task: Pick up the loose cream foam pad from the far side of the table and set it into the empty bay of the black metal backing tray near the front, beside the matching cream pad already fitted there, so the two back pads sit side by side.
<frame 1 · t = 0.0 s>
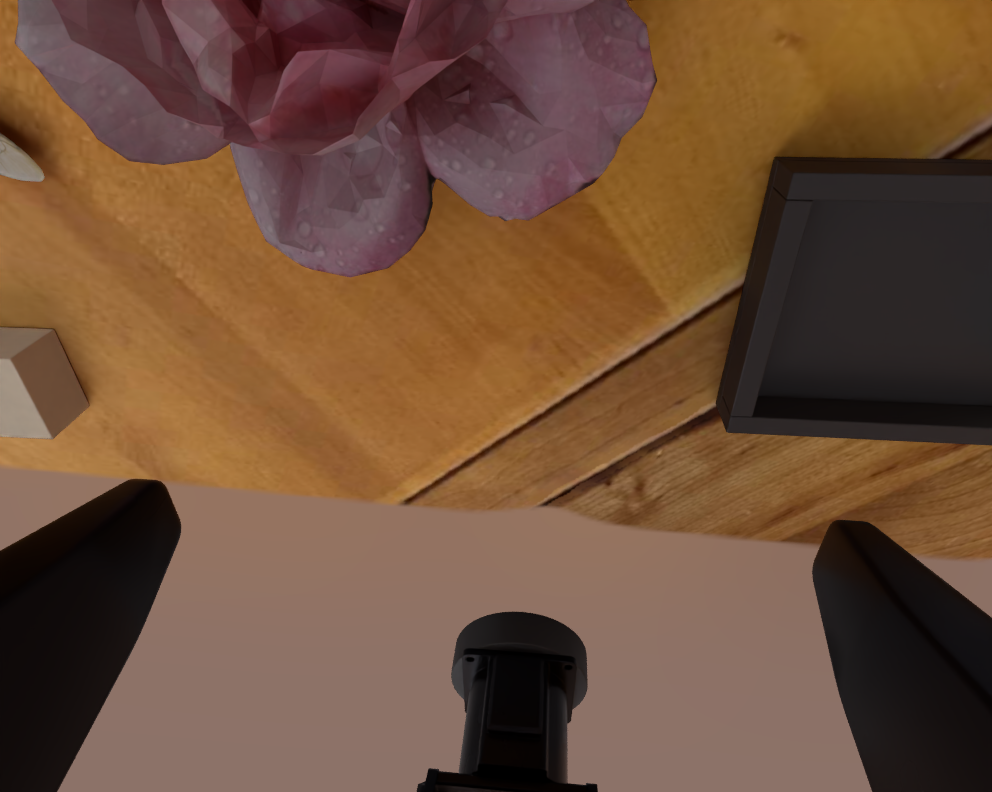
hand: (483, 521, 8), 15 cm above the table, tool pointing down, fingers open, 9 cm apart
backing tray: (952, 301, 22), on the table
loose pad: (30, 367, 27), on the table
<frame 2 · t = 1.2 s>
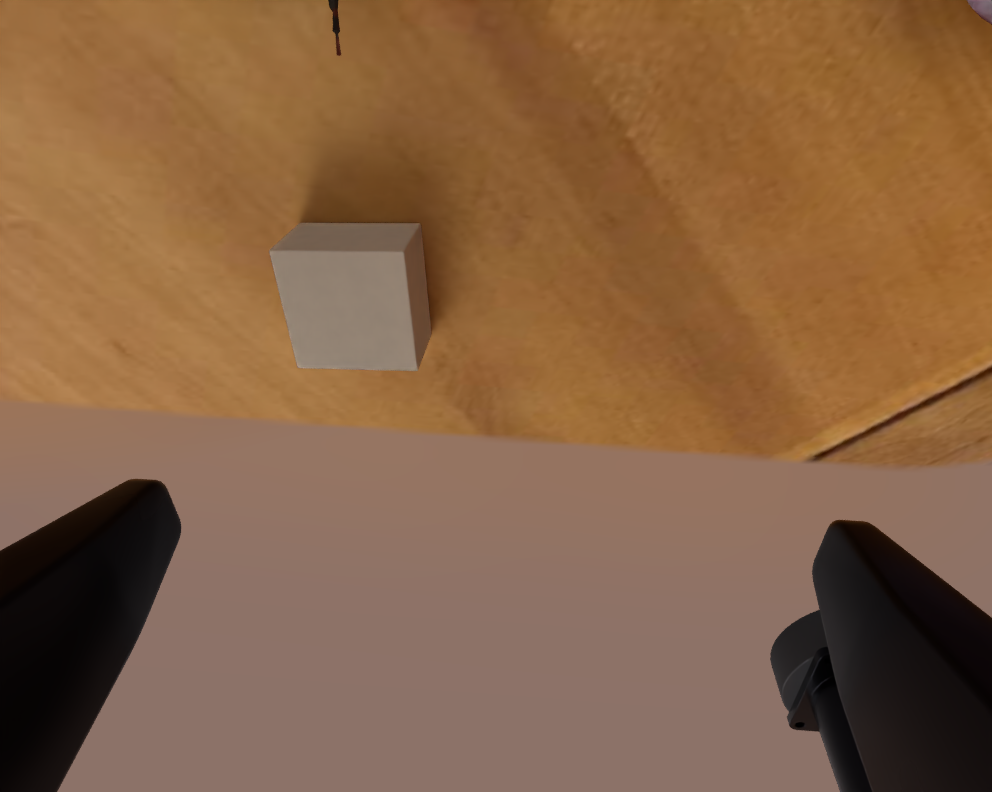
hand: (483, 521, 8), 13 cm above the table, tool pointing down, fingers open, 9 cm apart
loose pad: (368, 281, 21), on the table
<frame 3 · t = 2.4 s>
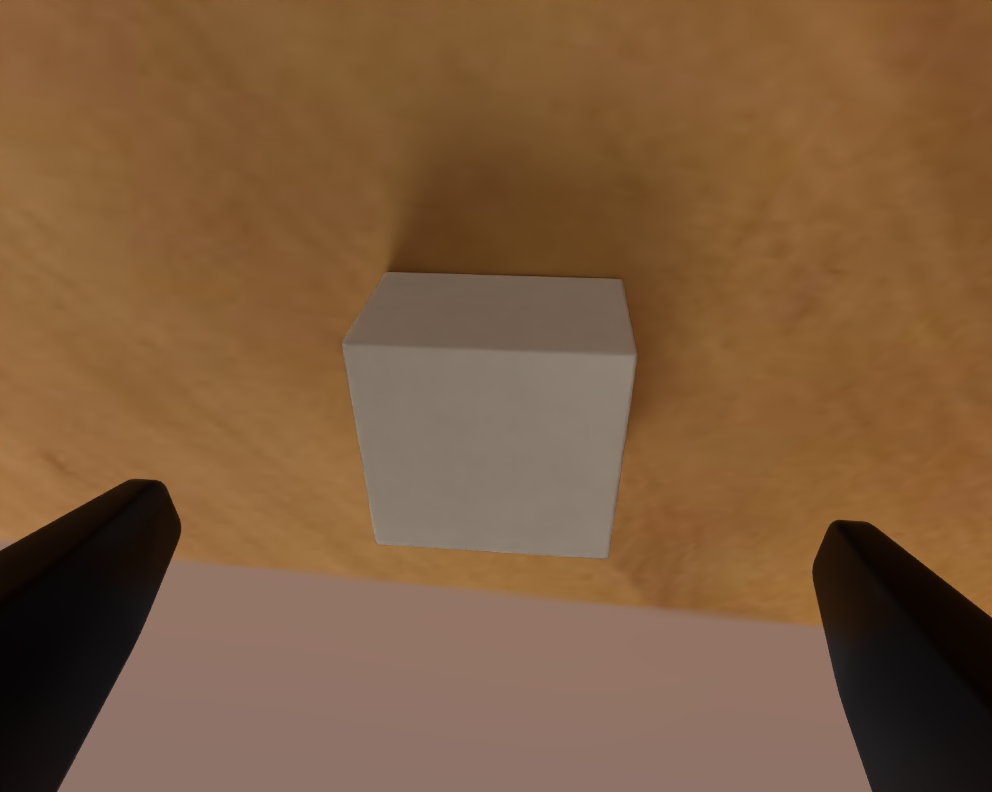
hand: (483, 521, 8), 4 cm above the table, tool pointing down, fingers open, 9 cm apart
loose pad: (501, 375, 11), on the table
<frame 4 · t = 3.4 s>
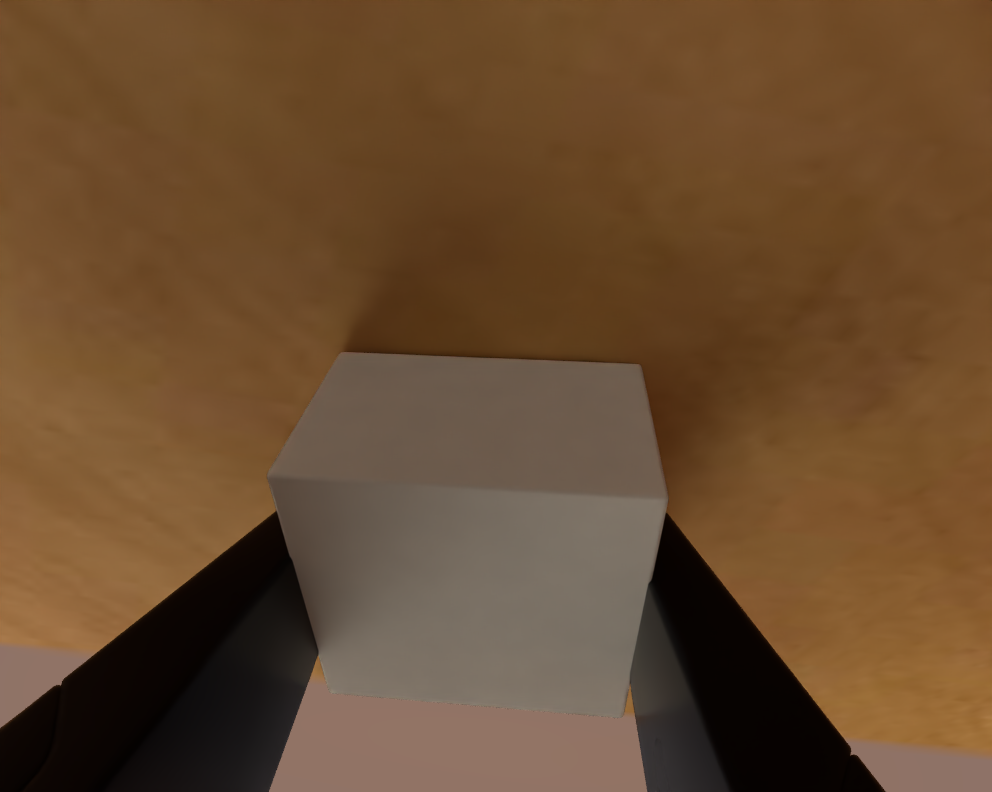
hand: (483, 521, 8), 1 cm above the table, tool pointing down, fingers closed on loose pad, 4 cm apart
loose pad: (489, 471, 9), on the table, touching gripper
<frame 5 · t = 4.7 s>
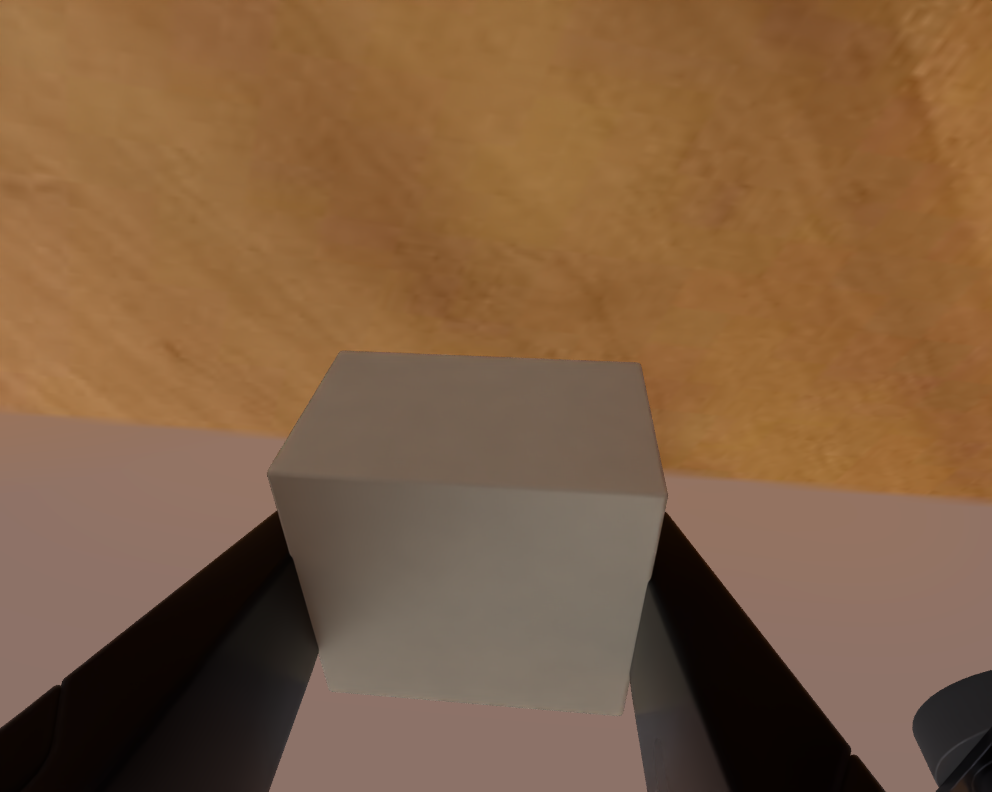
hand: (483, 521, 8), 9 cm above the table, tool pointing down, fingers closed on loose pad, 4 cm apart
loose pad: (489, 470, 9), point 8 cm above the table, touching gripper
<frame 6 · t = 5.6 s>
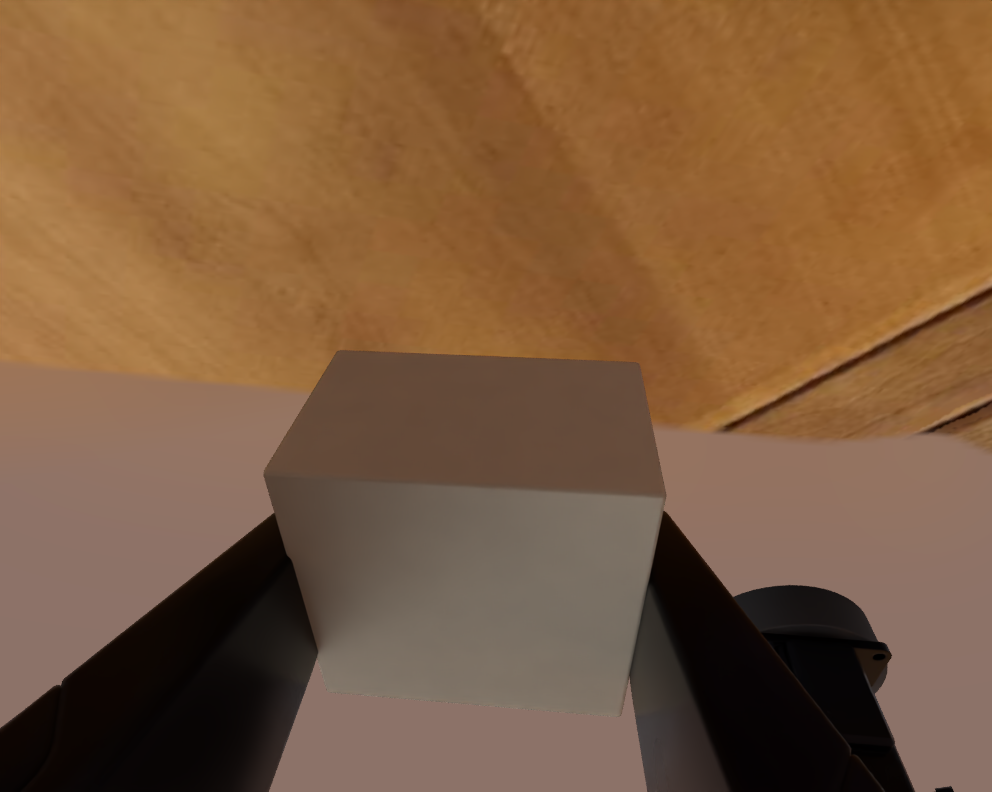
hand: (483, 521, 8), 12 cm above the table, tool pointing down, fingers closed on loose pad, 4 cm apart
loose pad: (487, 470, 9), point 11 cm above the table, touching gripper
when the fingers open (1 cm above the table, at t = 10.4 s): loose pad stays where it is, resting on backing tray.
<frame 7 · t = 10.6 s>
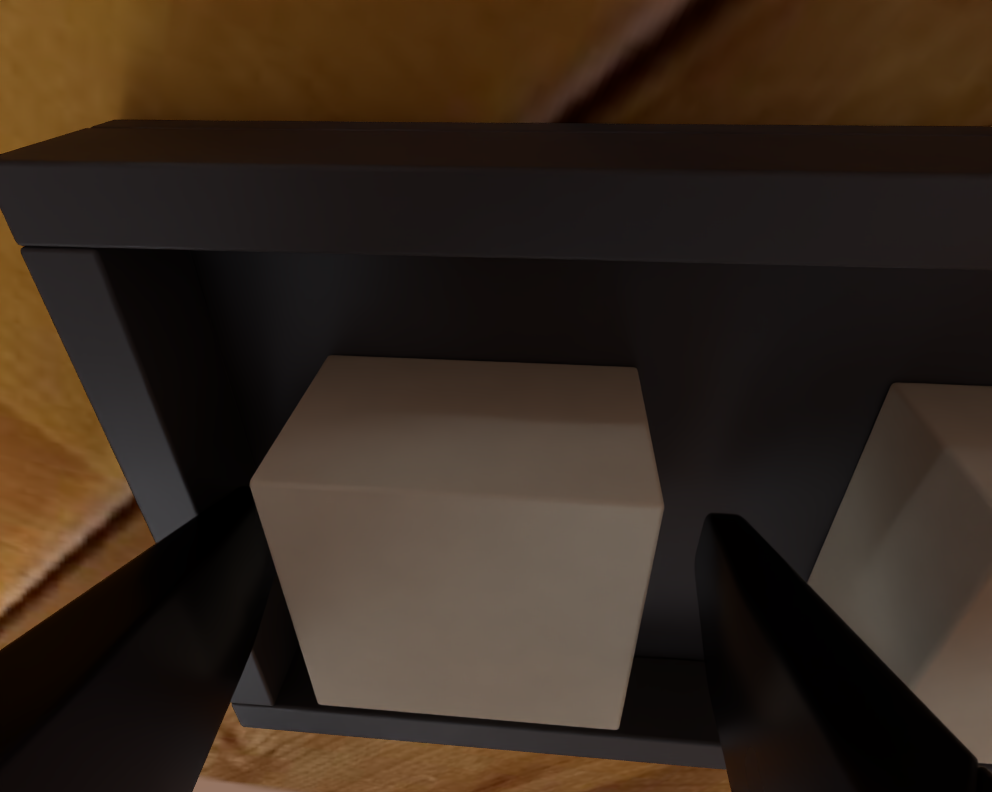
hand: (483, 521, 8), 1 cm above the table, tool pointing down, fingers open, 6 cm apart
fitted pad: (990, 507, 8), resting on backing tray
backing tray: (688, 468, 9), on the table
loose pad: (482, 476, 9), resting on backing tray
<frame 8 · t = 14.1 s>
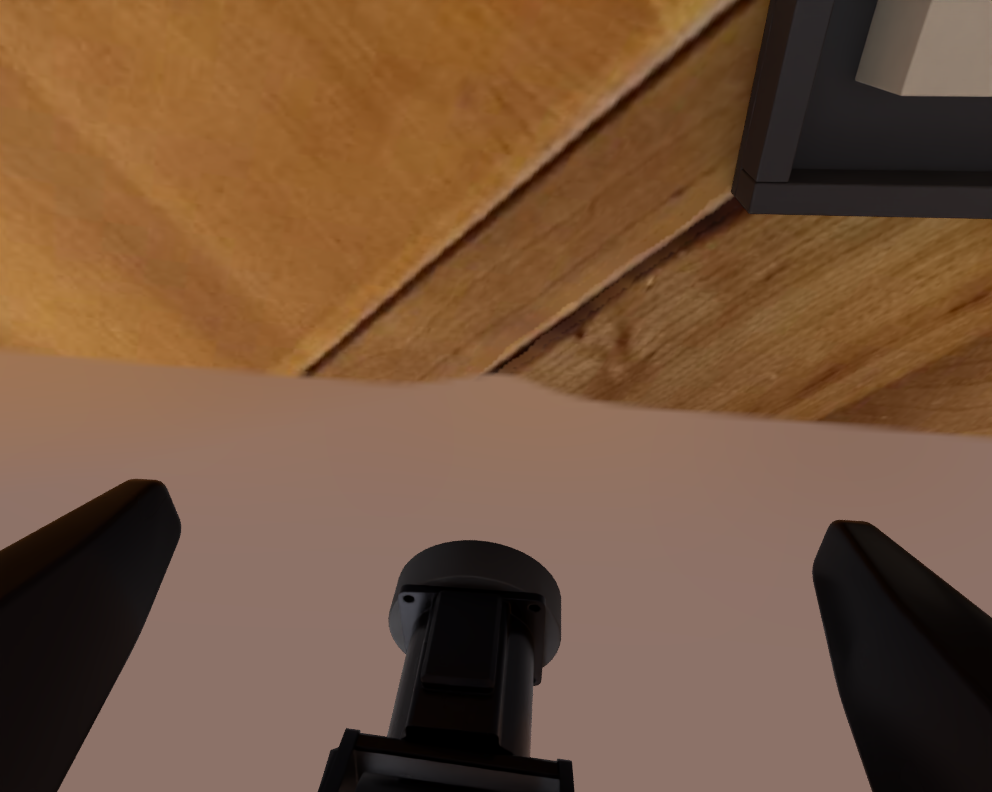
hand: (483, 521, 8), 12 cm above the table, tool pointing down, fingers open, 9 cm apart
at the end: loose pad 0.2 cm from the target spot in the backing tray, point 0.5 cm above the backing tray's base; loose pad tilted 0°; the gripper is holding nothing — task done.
